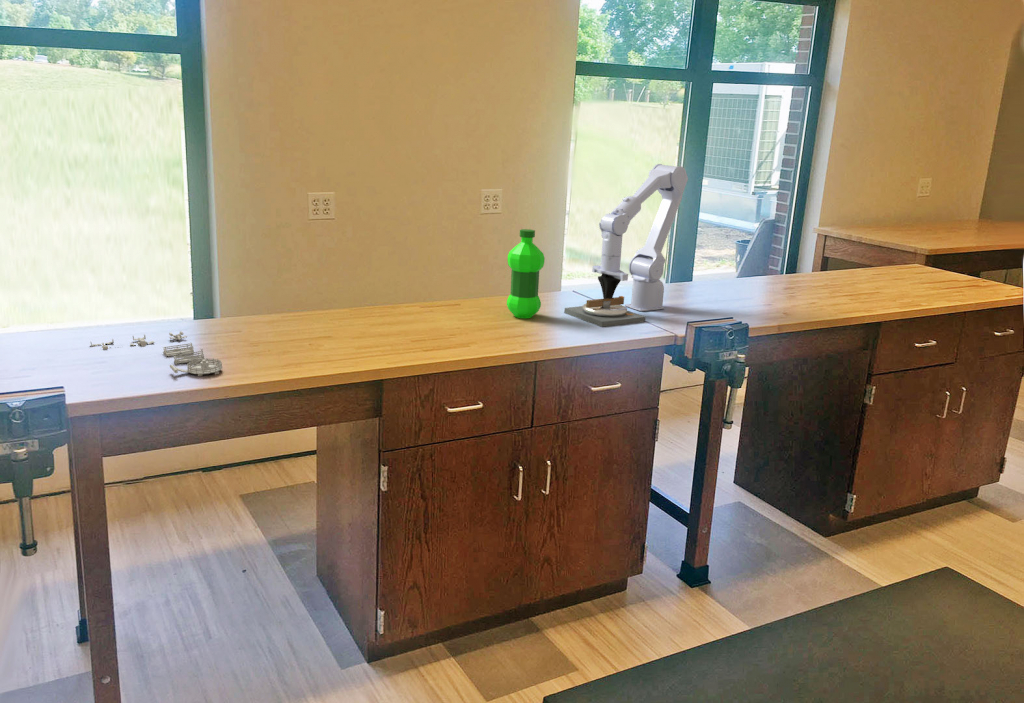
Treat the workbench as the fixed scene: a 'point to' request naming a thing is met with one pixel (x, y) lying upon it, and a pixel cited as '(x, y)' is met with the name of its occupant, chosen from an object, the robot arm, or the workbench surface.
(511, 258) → the plastic bottle
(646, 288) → the robot arm
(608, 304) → the dial
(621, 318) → the stand plate
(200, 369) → the drone parts
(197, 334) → the workbench surface
